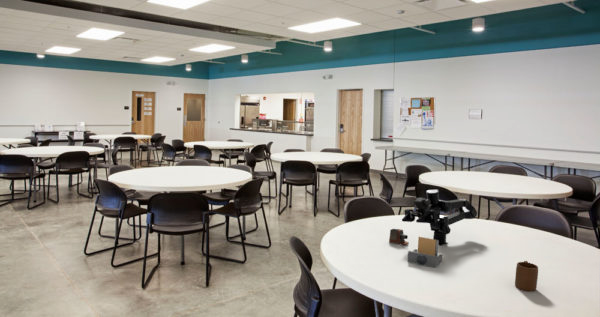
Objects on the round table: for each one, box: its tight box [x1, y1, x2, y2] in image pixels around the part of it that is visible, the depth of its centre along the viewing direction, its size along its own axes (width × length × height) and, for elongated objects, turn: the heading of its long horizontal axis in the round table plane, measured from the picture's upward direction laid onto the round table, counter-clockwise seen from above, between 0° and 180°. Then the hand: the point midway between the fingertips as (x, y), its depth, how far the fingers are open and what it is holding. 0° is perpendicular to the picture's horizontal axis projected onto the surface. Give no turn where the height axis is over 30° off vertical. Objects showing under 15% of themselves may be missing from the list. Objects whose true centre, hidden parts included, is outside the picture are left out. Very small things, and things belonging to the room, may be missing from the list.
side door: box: [417, 236, 439, 257], centre depth 192 cm, size 2×9×9 cm, turn 57°
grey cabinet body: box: [407, 248, 443, 269], centre depth 188 cm, size 12×13×5 cm
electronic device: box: [388, 228, 409, 247], centre depth 213 cm, size 4×10×8 cm, turn 44°
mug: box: [514, 260, 539, 292], centre depth 164 cm, size 12×8×9 cm, turn 156°
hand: (409, 220), depth 200 cm, fingers open, 9 cm apart
